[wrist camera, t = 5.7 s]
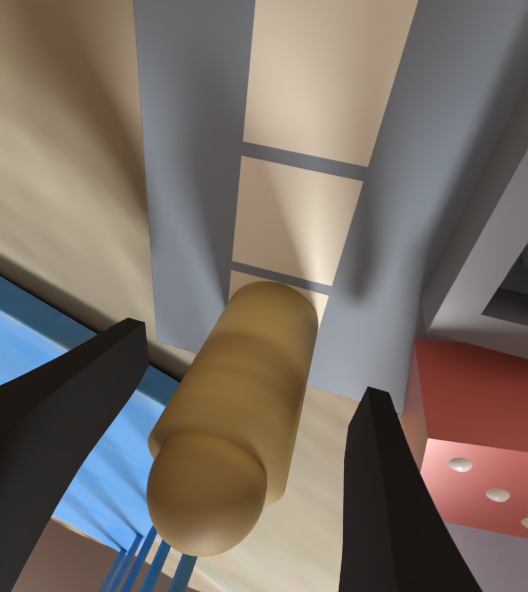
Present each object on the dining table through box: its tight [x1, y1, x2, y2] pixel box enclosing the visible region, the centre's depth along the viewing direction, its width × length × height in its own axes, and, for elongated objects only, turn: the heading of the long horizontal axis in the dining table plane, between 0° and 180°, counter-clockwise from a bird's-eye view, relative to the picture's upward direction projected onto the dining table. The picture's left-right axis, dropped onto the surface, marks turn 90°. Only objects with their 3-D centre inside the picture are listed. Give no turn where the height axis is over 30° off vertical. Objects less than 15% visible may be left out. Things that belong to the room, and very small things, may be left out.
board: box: [133, 0, 528, 414], centre depth 10 cm, size 18×16×1 cm
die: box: [403, 339, 528, 539], centre depth 11 cm, size 4×4×4 cm
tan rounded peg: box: [146, 281, 319, 557], centre depth 10 cm, size 4×4×8 cm
